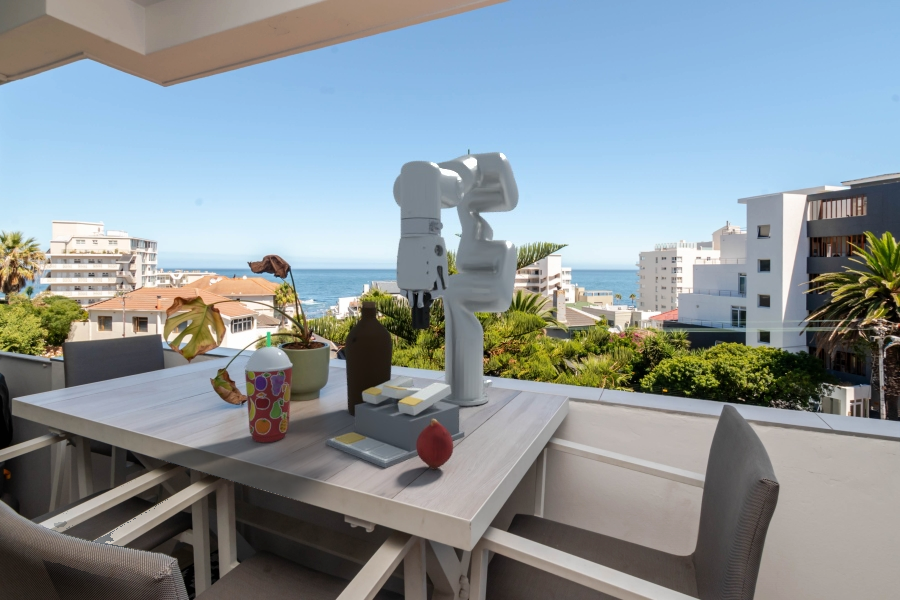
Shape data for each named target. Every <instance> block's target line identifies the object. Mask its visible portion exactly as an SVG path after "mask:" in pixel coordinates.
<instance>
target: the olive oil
mask: <svg viewBox="0 0 900 600" xmlns="http://www.w3.org/2000/svg"><path fill="white" fill-rule="evenodd" d="M376 305H377V302H376V301H373V300H371V301H370V300H369V301H368V300H367V301H366V300H364V301H361V309H360V310H361V312H360V313H361V317H360V318H359V320H358V322H357V323H356V324H355V325H354V326H353V327H352V328H351V329H350V330H349V332H348V333H347V336H346V338H345V341H344V354H345V372H346V373H345V374H346V389H347V390H346V391H347V392H346V393H347V395H346V396H347V411H348V414H349V415H351V416H355V405H358V404H362V403H366V401H363V396H362V393H363V391H365V390H367V389H369V388H371V387H376V386H378V385H380V384H383V383H385V382H387V381H389V380H391V379H392V361H393V360H392V359H393V340H392V336H391V333H390V331H388V329H387V328H386V327H385V326H384V325H383V324H382V323H381V321H379V320H378V318H377V306H376Z"/></svg>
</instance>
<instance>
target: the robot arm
mask: <svg viewBox="0 0 900 600" xmlns="http://www.w3.org/2000/svg"><path fill="white" fill-rule="evenodd" d="M392 193H393V195H392V196H393V199H394V200H395V203H396V204H397V206H398V207H399V208H400V238H399V241H398V246H397V247H398V249H397V255H396V257H397V258H396V284H397V285H396V286H397V288H398V289H399V295H400V296H401V297H403V298H406V299H407V301H408V304H409V305H408V306H409V307H410V308H411V328H412V329H414V330H415V329H416V330H426V329H429V328H430V327H431V324H430V323H431V321H430V320H431V313H430V312H431V308H432V307H433V303H434V301H435V300H437V299H440V298H442V299H441V300H442V304H443V311H444V324H445V326H444V328H445V333H444V334H445V335H444V336H445V337H444V384H446V385H450V388H451V394H449V395H448V396H446V397H444V398H443V399H441V400H439V401H441V402H445V403H449V404H454V405H458V406H459V407H460V406H461V407H463V406H464V407H465V406H466V407H469V406H477V405H479V406H480V405H483V404H486V403H487V402H489V400H490V395H489V394H488V393H487V392H485V389H486V388H491V387H492V386H493V381H492V380H491V379H484V329H483V325H482V324H481V322H480V320H479V319H478V318H477V316H476V315H475V313H494V314H495V313H504V312H507V311H508V310H509V308H510V307H511V306H512V301H513V296H514V291H515V284H516V283H515V282H516V276H517V275H516V274H517V269H518V268H517V267H518V252H517V248H516V247H515V245H514V244H513V243H512V242H511V241H510V240H504V239H494V240H493V238H494V230H493V228H492V226H491V225H490V223H488V221H487V220H486V219H485V218H484V217H482V216H481V213H504V212H505V213H507V212H511V211H513V210H515V208H516V207H517V205H518V203H519V188H518V185H517V182H516V177H515V175H514V171H513V168H512V165H511V163H510V161H509V159H508V158H507V157H506V155H505V154H504V153H501V152H498V151H497V152H496V151H495V152H485V153H483V152H481V153H469V154H464V155H461V156H457V157H456V158H453V159H450V160H447V161H442V162H437V163H435V162H432V161H429V160H412V161H408V162H405V163H404V164H403V165H402V166H401V168H400V173H399V174H398V176H397V177H396V178H395V181H394V183H393V187H392ZM452 208H456V211H457V215H458V219H459V223H460V226H461V236H460V239H459V243H458V248H457V251H456V257H455V263H454V264H455V268H456V271H457V273H454V274H453V273H452V274H450V275H449V263H448V254H447V253H448V251H447V246H446V242H445V237H443V236H441V235H442V229H443V228H444V224H443V222H442V219H441V218H442V216H441V215H442V211H441V210H445V209H452Z"/></svg>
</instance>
